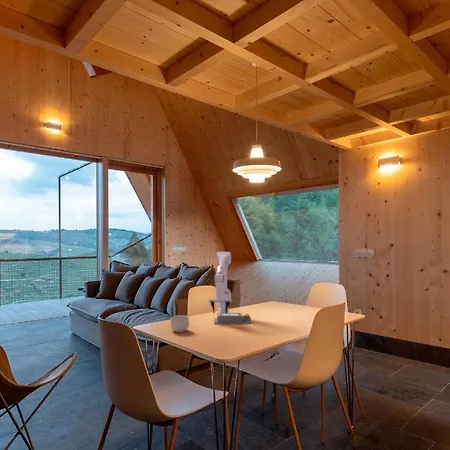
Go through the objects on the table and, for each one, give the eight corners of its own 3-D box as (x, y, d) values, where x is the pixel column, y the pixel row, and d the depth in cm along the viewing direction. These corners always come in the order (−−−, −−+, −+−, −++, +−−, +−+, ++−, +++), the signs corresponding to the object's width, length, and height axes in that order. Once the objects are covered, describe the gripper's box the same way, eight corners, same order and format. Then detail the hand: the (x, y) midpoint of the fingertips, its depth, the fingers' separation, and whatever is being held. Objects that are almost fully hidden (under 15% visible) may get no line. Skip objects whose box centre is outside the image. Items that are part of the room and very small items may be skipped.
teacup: (188, 333, 209) (188, 319, 210) (168, 333, 209) (169, 319, 210) (190, 327, 223) (190, 314, 224) (172, 327, 223) (172, 314, 224)
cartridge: (218, 318, 241) (218, 307, 241) (238, 318, 242) (238, 307, 242) (218, 320, 235) (218, 309, 235) (238, 320, 236) (239, 309, 236)
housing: (214, 319, 244) (214, 312, 244) (248, 319, 245) (248, 312, 245) (214, 324, 232) (214, 316, 232) (251, 323, 233) (251, 316, 233)
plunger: (242, 318, 241) (242, 313, 241) (248, 318, 241) (248, 313, 241) (243, 320, 237) (243, 315, 237) (249, 320, 237) (249, 315, 237)
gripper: (208, 293, 234) (208, 314, 234) (231, 293, 235) (231, 314, 235) (208, 291, 241) (208, 312, 241) (230, 291, 242) (230, 312, 242)
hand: (219, 313), depth 238 cm, fingers open, 7 cm apart
